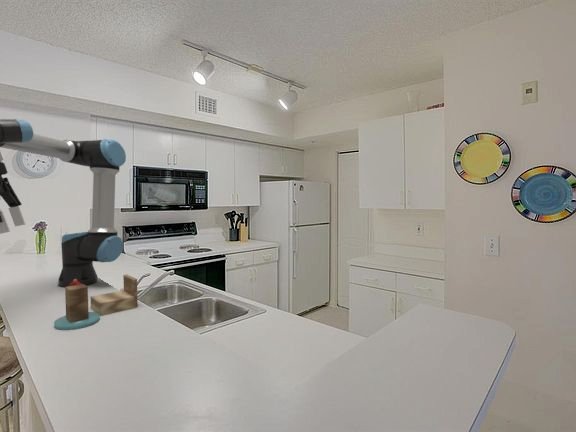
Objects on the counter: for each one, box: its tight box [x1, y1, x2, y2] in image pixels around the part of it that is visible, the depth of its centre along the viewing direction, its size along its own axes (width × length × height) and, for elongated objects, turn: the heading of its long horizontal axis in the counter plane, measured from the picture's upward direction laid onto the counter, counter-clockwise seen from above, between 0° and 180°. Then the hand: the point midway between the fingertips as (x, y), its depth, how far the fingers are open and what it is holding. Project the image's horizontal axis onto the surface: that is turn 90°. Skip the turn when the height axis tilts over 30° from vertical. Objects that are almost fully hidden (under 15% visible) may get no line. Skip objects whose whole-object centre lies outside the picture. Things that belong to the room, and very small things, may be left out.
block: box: [64, 284, 90, 323], centre depth 103 cm, size 5×5×10 cm
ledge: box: [90, 274, 139, 316], centre depth 117 cm, size 12×11×10 cm
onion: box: [68, 279, 81, 286], centre depth 126 cm, size 6×6×8 cm
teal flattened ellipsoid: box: [53, 311, 101, 331], centre depth 103 cm, size 12×12×1 cm
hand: (12, 229), depth 107 cm, fingers open, 13 cm apart
